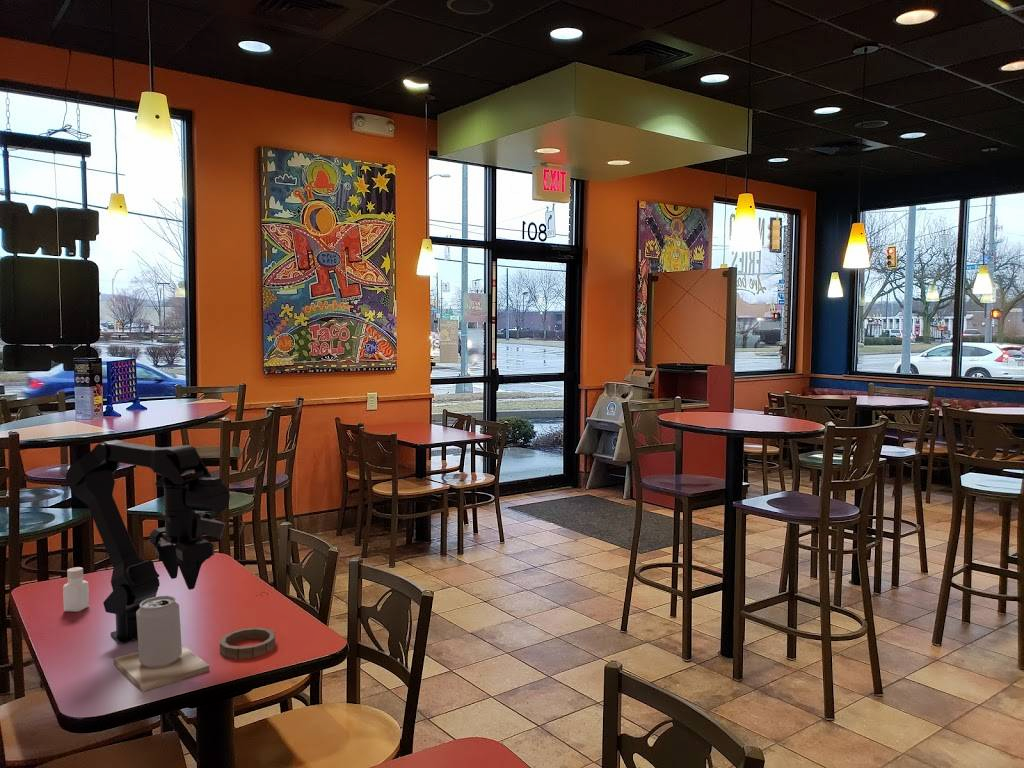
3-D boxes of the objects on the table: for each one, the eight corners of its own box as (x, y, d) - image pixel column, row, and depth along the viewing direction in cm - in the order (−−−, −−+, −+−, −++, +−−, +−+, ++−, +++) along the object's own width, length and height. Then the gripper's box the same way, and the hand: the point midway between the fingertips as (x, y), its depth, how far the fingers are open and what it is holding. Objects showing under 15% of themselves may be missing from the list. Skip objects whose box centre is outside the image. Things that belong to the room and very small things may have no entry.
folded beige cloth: (114, 663, 146) (113, 658, 146) (177, 645, 154) (177, 640, 154) (142, 691, 134) (142, 686, 134) (209, 670, 143) (209, 665, 143)
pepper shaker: (90, 606, 176) (88, 566, 175) (79, 612, 172) (77, 572, 171) (74, 605, 176) (72, 566, 176) (62, 612, 173) (61, 571, 172)
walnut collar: (211, 647, 153) (211, 637, 153) (260, 632, 161) (260, 623, 161) (234, 663, 146) (234, 653, 146) (284, 647, 153) (284, 638, 153)
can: (186, 662, 144) (182, 602, 142) (143, 674, 139) (139, 611, 138) (177, 648, 150) (174, 590, 148) (136, 659, 145) (132, 599, 144)
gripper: (238, 509, 151) (240, 585, 152) (201, 495, 165) (203, 564, 166) (182, 519, 143) (184, 599, 145) (147, 503, 157) (150, 576, 158)
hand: (182, 583), depth 153 cm, fingers open, 9 cm apart
